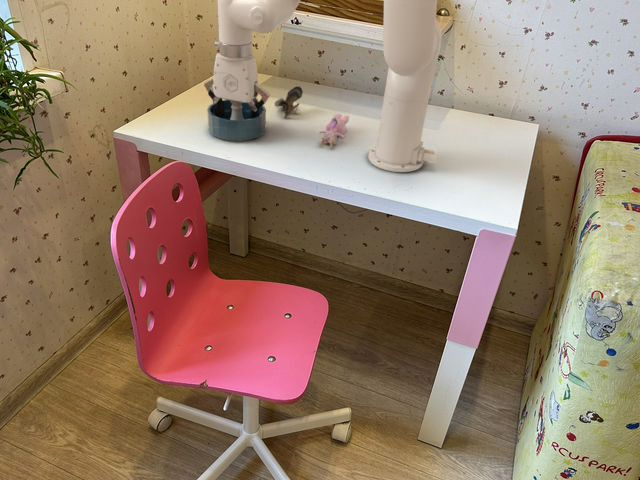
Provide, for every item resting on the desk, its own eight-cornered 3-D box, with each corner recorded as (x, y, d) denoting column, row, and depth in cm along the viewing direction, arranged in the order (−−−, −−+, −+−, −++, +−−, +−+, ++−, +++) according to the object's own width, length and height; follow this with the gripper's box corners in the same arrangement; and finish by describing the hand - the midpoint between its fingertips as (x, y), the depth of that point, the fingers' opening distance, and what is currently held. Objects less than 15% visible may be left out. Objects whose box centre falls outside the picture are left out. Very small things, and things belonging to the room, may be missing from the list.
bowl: (274, 126, 143) (275, 105, 139) (250, 147, 132) (250, 125, 129) (225, 115, 147) (224, 95, 144) (198, 135, 137) (196, 114, 133)
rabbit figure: (338, 155, 133) (355, 123, 143) (339, 133, 129) (356, 102, 139) (313, 150, 135) (331, 119, 145) (313, 128, 131) (332, 98, 140)
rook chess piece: (249, 128, 139) (249, 97, 135) (236, 133, 137) (236, 101, 132) (237, 123, 142) (237, 92, 137) (224, 128, 139) (223, 96, 134)
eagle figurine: (307, 115, 146) (308, 97, 152) (293, 94, 142) (295, 76, 148) (282, 127, 149) (285, 109, 155) (267, 107, 145) (271, 89, 151)
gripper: (194, 48, 128) (198, 120, 138) (263, 59, 122) (262, 133, 133) (210, 40, 133) (213, 110, 144) (277, 50, 128) (275, 122, 138)
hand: (237, 121), depth 138 cm, fingers open, 8 cm apart
